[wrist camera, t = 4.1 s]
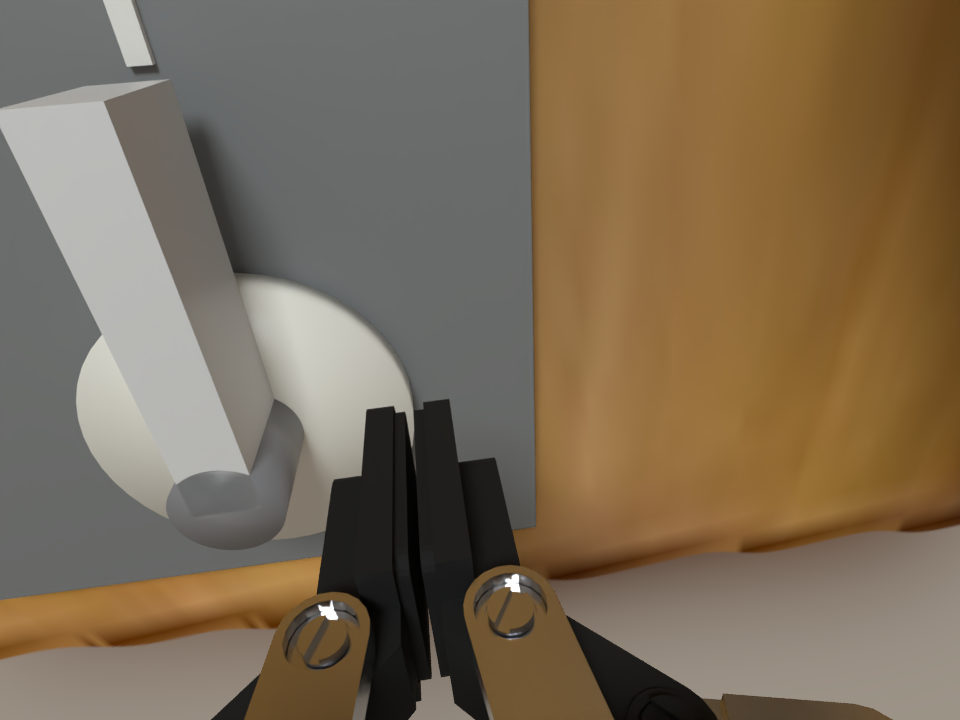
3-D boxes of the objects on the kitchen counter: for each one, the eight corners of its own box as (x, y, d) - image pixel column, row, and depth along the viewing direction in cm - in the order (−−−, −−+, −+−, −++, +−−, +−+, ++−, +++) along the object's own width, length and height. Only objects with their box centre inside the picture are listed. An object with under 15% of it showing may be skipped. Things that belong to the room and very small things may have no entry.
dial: (429, 499, 26) (434, 600, 22) (161, 534, 25) (111, 646, 21) (359, 60, 16) (343, 80, 12) (-80, 95, 16) (-268, 132, 11)
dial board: (517, -76, 16) (528, -84, 15) (530, 504, 29) (537, 530, 28) (-467, -9, 15) (-562, -10, 13) (8, 574, 28) (-14, 605, 26)
